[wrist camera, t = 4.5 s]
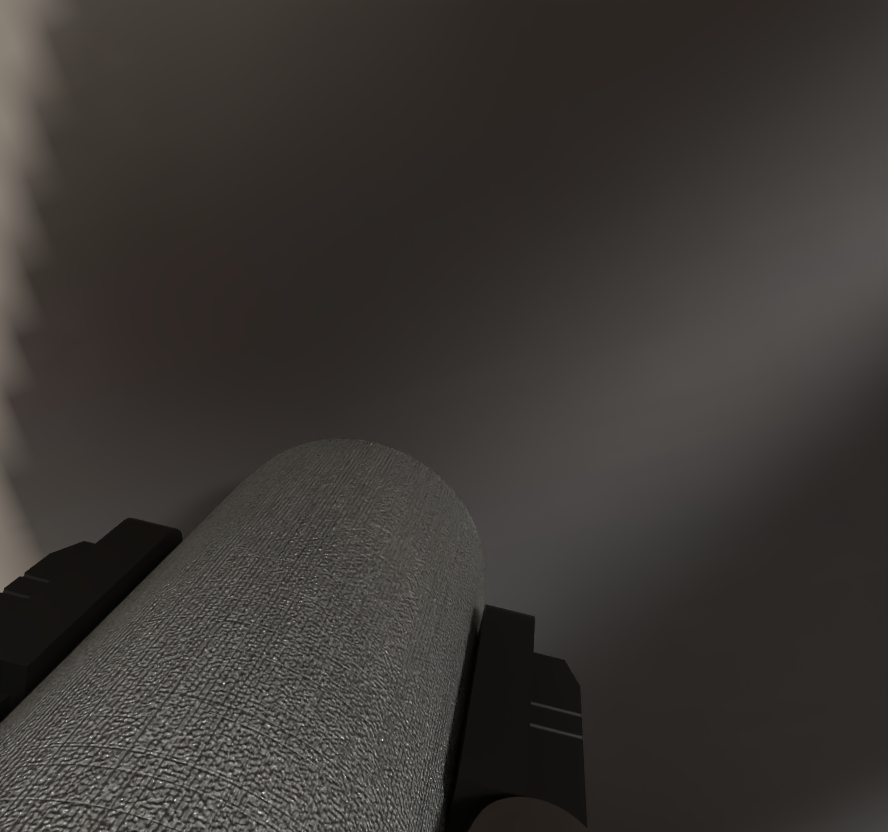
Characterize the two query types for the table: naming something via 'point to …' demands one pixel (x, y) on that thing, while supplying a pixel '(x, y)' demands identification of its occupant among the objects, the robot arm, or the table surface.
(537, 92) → the table surface
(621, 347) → the table surface
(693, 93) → the table surface
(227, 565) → the grey and black cylinder
